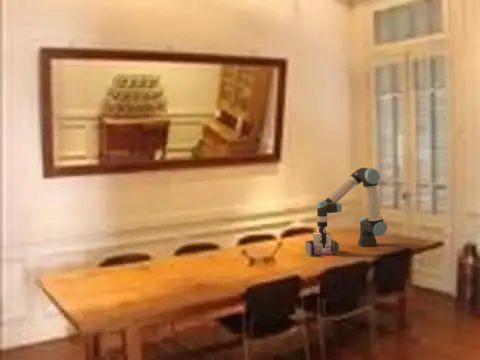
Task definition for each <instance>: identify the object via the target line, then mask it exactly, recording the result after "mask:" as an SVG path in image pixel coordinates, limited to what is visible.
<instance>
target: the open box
mask: <svg viewBox="0 0 480 360" xmlns="http://www.w3.org/2000/svg"><path fill="white" fill-rule="evenodd" d="M331 240H332V253H334V254H335V255H336V254H337V255H336V256H340V243H339V242H338V241H336V240H335V239H332V238H331ZM304 244H305V247H304V248H305V253H306V254H307V255H308V256H309V258H310V257H311V258H312V257H313V253H314V240H311V239H309V240H305V242H304Z"/></svg>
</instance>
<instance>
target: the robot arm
mask: <svg viewBox="0 0 480 360" xmlns="http://www.w3.org/2000/svg"><path fill="white" fill-rule="evenodd" d="M380 179H381V175H380V172H379V171H378V170H377V169H375V168H369V167H360V168H358V169H357V170H355V171H354V172H353V173H352V174H350V176H349V177H348V179H346V181H344V182H343V183H342V184H341V185H340V186H339V187H338V188H337V189H335V191H333V192H332V193H331V194H330V195H329V196H328V197H327V198H326V199H325V200H319V201H317V205H316V208H317V209H316V211H317V217H316V219H317V222H316V223H317V227H318V233H321V235H322V243H321V244H322V252H326V246H325V244H326V233H327V230H326V227H328V214H335V213H336V214H338V213H341V212H342V210H343V209H342V208H343V206H342V204H341V203H340V202H339V201H340V200H341V199H343V198H344V196H345V195H347V194H348V193H349V192H350V191H351V190H352V189H353V188H354V187H355V186H358V185H360V184H361V183H362V186H363V188H365V192H366V201H367V207H368V212H369V214H368V216H366V217H364V216H363V217H361V218H360V221H359V226H360V227H359V228H360V230H359V235H360V236H359V238H358V243H357V245H358V246H359V247H363V246H365V248H366V247H367V248H371V247H370V246H373V247H376V246H375V245H378V242H377V239H376V237H381V236H383V235H385V234H386V232H387V230H388V226H387V223H386V222H384V218H383V216H382V215H381V214H382V213H381V209H380V203H379V202H380V200H379V195H378V186H379V182H380Z"/></svg>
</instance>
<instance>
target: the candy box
mask: <svg viewBox="0 0 480 360" xmlns="http://www.w3.org/2000/svg"><path fill="white" fill-rule="evenodd" d="M312 235H313V236H312V237H313V240H314V252H313V255H314V256H321V255H322V256H324V255H325V256H327V255H328V256H330V255H331V256H332V255H333V251H332V232H326V244H325V246H326V252H322V244H321V243H322V235H321V233H319V232H313V234H312Z"/></svg>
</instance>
